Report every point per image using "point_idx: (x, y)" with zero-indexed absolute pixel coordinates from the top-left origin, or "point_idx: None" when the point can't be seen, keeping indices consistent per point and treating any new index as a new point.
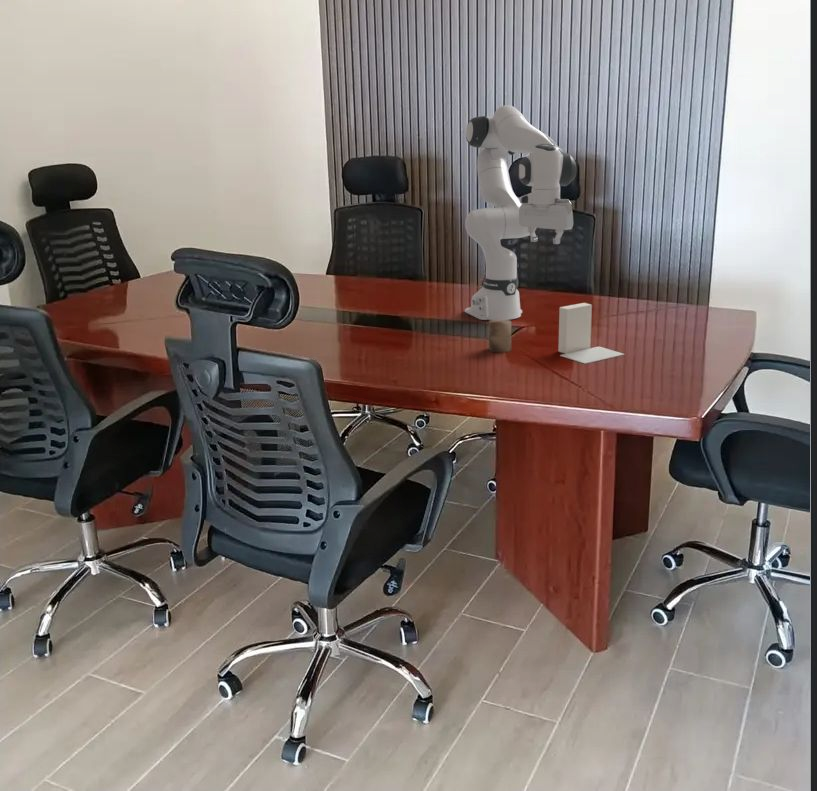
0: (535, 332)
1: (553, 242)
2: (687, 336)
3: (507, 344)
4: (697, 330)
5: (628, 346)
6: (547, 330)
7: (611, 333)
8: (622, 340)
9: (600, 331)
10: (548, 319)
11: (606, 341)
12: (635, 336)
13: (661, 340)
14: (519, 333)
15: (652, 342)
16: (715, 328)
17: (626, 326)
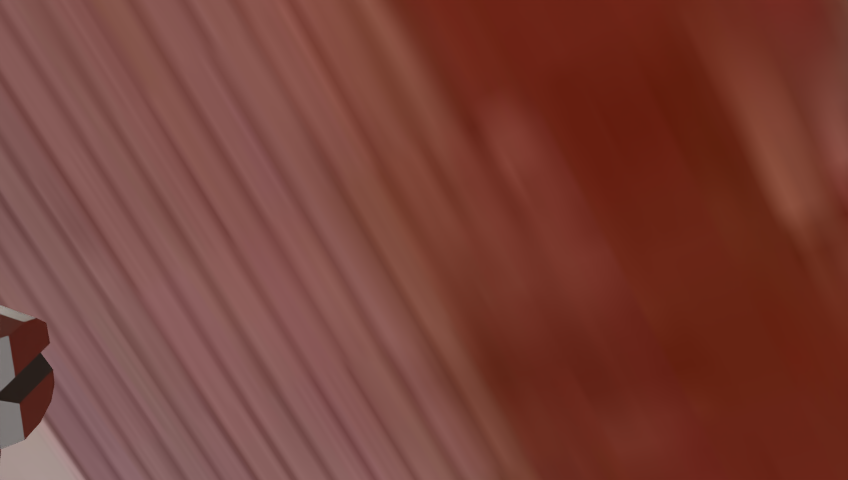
0: (721, 94)
1: (6, 321)
2: None
3: None
4: (76, 427)
5: (104, 60)
6: (664, 177)
7: (311, 261)
8: (193, 157)
9: (377, 276)
10: (772, 413)
11: (241, 100)
12: (192, 253)
13: (72, 234)
14: (830, 11)
15: (76, 185)
16: (52, 470)
17: (326, 402)
